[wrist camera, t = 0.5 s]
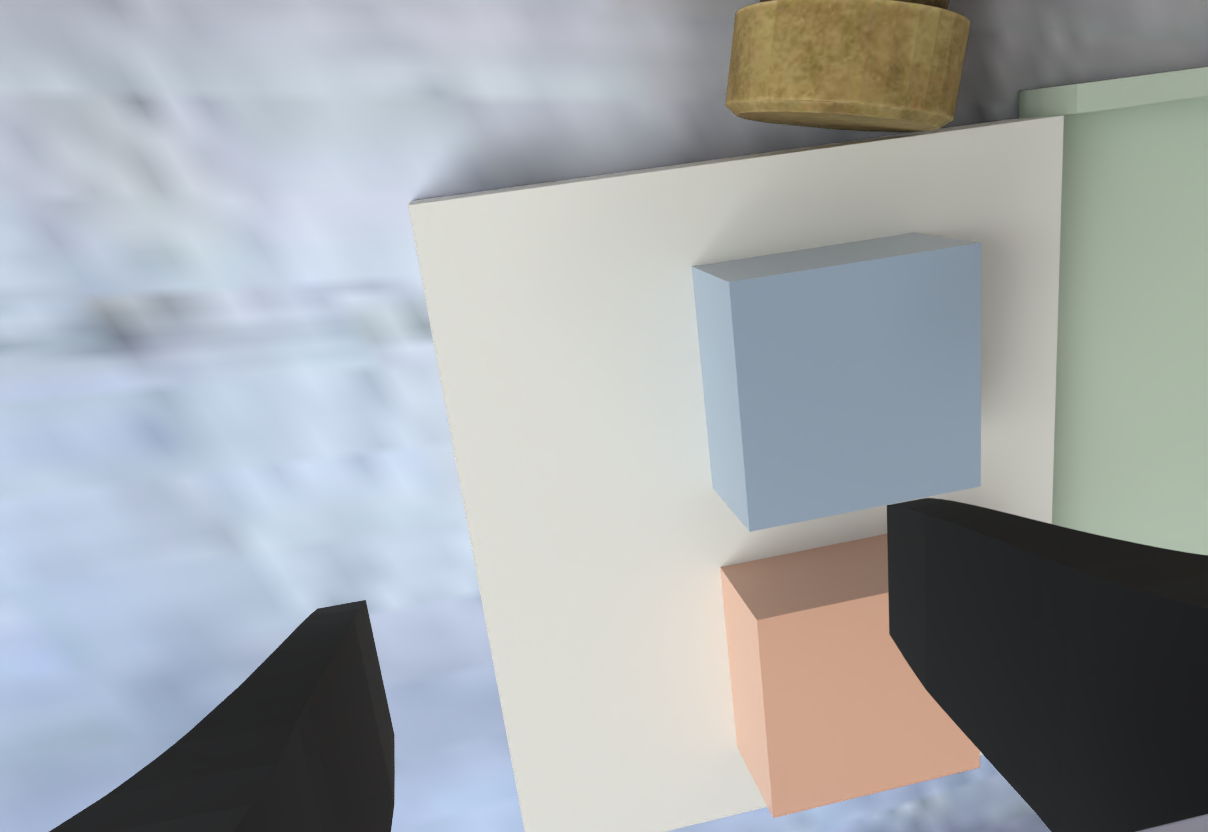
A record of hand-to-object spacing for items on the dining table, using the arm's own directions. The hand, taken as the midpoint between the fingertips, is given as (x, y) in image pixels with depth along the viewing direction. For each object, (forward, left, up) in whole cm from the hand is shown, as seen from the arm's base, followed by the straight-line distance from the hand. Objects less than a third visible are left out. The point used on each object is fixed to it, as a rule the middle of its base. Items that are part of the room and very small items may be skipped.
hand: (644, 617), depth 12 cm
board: (-3, -5, -10) cm, 11 cm away
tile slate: (+1, -6, -8) cm, 9 cm away
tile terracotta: (-6, -6, -8) cm, 11 cm away
